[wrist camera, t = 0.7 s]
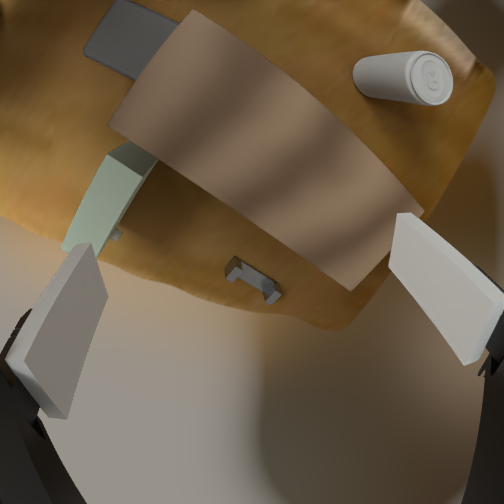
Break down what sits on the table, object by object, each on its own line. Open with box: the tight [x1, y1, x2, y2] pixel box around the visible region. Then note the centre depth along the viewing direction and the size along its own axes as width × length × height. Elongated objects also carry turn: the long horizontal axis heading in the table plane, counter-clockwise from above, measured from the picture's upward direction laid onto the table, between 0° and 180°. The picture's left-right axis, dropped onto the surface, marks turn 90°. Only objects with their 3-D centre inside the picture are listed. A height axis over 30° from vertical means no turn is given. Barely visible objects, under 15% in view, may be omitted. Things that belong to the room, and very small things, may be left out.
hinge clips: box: [225, 256, 282, 305], centre depth 38 cm, size 7×10×2 cm
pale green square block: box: [61, 140, 159, 259], centre depth 29 cm, size 4×10×10 cm, turn 142°
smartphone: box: [83, 0, 179, 81], centre depth 26 cm, size 8×1×15 cm
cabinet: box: [107, 9, 424, 291], centre depth 26 cm, size 22×9×14 cm, turn 52°
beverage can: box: [353, 51, 453, 106], centre depth 24 cm, size 5×5×12 cm
